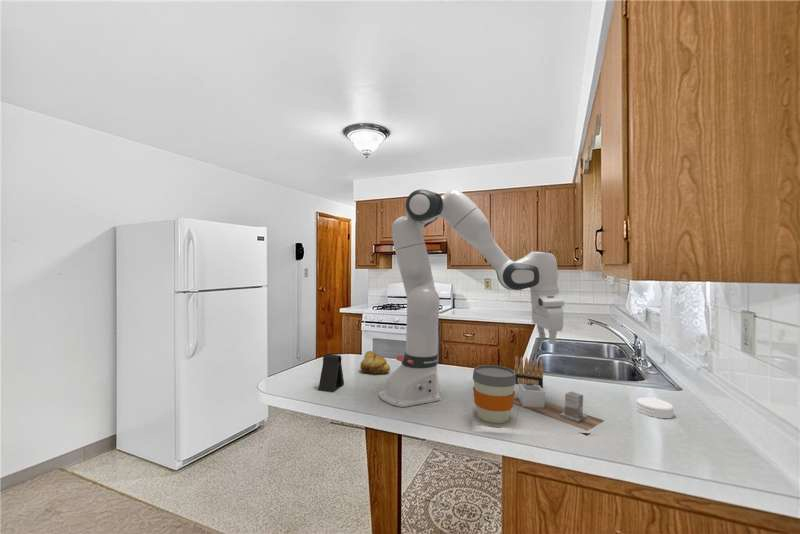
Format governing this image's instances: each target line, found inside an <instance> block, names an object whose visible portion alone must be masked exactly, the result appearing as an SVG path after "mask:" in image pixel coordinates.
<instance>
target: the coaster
mask: <svg viewBox="0 0 800 534" xmlns="http://www.w3.org/2000/svg"><path fill="white" fill-rule="evenodd" d="M635 405H636V406H635V409H636V411H638V412H639V413H640V414H642V413H643V415H645V414H646V415H645V416H647V415H649V416H648V417H651V416H653V417H652V418H655V417H658V418H657V419H662V418H669V419H673V418H674V409H675V407H674V406H673V404H671V403H670V402H667V401H665V400H662V399H658V398H654V397H647V396H646V397H638V398H636V403H635Z"/></svg>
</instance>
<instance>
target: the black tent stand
mask: <svg viewBox="0 0 800 534" xmlns="http://www.w3.org/2000/svg"><path fill="white" fill-rule="evenodd" d="M342 365H343V364H342V356H341V354H340V355H338V354H330V353H329V354H328V353H325V354H324V355H323V357H322V368H321V372H320V373H321V374H320V377H319V378H320V379H319V384H318V388H317V389H318V391H322V392H329V393H335V392H336V391H338V390H339V389H340V388H342V387H343V386H345V381H344V374H343V366H342Z"/></svg>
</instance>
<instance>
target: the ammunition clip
mask: <svg viewBox="0 0 800 534" xmlns="http://www.w3.org/2000/svg"><path fill="white" fill-rule="evenodd" d="M538 362H539V363H538ZM538 364H539V365H538ZM543 367H544V365H543V359H542V358H540V360H539V361H538V359H537V358H535V359H534V360H533V357H530V359H529V360H528V357H527V356H526V357H525V359H524V358H523V356H521V357H520V359H519V358H518V355H515V359H514V366H513V371H514V372H515V374H516V384H515V385H517V384H518V385H519V384H525V383H533V385H539V386H540V387H541V388H542V389H543V388H544V368H543Z"/></svg>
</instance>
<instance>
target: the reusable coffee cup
mask: <svg viewBox="0 0 800 534" xmlns="http://www.w3.org/2000/svg"><path fill="white" fill-rule="evenodd" d="M472 380H473V384H474V385H473V387H472V389H473V399H474V401H473V402H474V404H475V407H476V415H477V417H478V418H479V419H480V420H482V421H485V422H489V423H494V424H495V423H496V424H499V423H500V424H501V423H505V422H508V421H509V420H510V417H511V410H512V409H513V407H514V404H513V401H514V399H515V394H516V393H515V386H516V385H517V384H516V374H515V372H514V369H511V368H509V367H504V366H501V365H491V364H489V365H488V364H486V365H485V364H483V365H478V366H475V367H474V368H473V371H472ZM487 427H490V428H495V429H496V428H498V429H499V428H500V429H501V428H502V426H493V425H492V426H491V425H490V426H489V425H488V426H487Z"/></svg>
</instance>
